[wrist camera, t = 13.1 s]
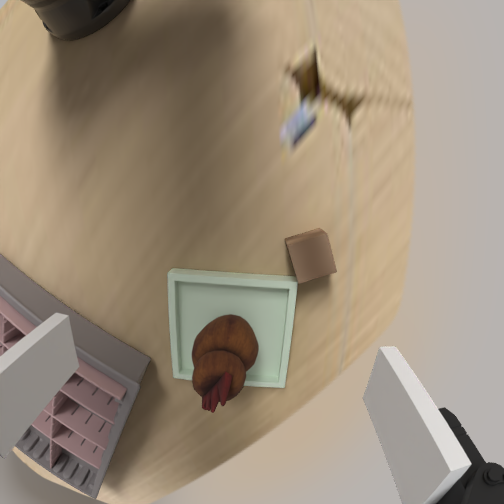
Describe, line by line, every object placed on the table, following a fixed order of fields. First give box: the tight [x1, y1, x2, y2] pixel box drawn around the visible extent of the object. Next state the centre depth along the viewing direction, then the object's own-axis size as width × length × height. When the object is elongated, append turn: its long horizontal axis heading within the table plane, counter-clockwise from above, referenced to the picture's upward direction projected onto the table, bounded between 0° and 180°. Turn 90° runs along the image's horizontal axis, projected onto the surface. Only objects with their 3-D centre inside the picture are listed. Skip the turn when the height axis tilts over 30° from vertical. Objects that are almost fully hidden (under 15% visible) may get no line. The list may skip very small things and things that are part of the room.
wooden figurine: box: [191, 314, 259, 413], centre depth 28 cm, size 7×6×15 cm
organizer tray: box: [0, 254, 151, 499], centre depth 35 cm, size 32×40×10 cm
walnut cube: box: [285, 228, 337, 284], centre depth 31 cm, size 4×4×4 cm
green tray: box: [167, 268, 298, 388], centre depth 35 cm, size 14×14×2 cm
